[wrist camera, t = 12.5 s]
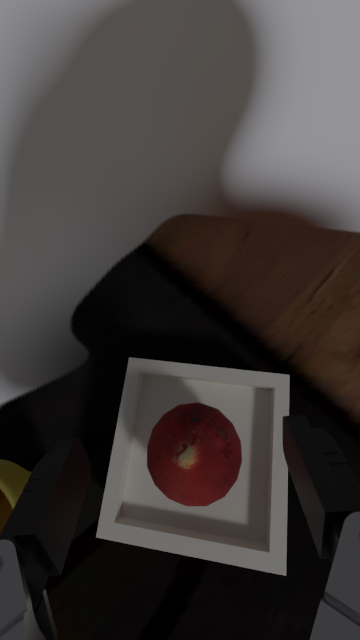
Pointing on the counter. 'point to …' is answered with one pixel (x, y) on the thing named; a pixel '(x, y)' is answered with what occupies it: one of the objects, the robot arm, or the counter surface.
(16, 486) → the plant pot
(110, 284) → the counter surface
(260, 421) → the tray
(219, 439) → the onion
